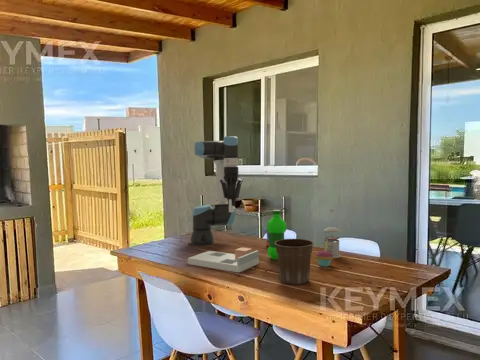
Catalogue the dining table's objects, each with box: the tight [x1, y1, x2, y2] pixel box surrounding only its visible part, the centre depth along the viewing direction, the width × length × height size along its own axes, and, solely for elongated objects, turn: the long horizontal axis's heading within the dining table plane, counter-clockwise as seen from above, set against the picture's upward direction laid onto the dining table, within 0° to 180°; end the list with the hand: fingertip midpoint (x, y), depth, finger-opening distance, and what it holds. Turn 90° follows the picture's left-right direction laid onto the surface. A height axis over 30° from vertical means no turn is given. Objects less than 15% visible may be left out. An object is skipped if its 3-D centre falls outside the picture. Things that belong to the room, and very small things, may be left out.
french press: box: [322, 208, 342, 259], centre depth 201 cm, size 10×12×25 cm
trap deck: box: [187, 250, 260, 273], centre depth 186 cm, size 30×18×6 cm, turn 58°
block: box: [234, 247, 253, 259], centre depth 185 cm, size 6×6×4 cm
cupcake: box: [315, 240, 334, 268], centre depth 182 cm, size 9×8×12 cm
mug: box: [264, 227, 269, 247], centre depth 225 cm, size 12×9×11 cm
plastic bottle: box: [266, 209, 287, 261], centre depth 196 cm, size 10×10×25 cm
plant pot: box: [274, 238, 314, 285], centre depth 159 cm, size 16×16×16 cm
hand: (231, 211), depth 196 cm, fingers closed
